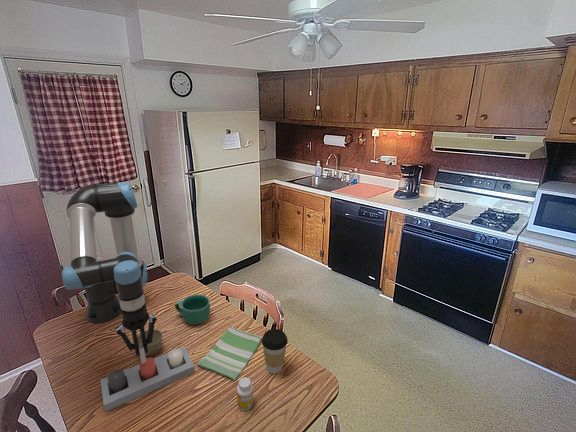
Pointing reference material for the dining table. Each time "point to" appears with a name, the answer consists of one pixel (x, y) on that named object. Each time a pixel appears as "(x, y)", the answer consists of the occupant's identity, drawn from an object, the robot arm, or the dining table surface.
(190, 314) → the mug
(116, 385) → the button black
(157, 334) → the flower pot
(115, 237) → the robot arm
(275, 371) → the coffee cup
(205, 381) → the dining table surface
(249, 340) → the dish towel
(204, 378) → the dining table surface
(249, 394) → the supplement bottle
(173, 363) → the button ivory
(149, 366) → the button red
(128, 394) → the panel
